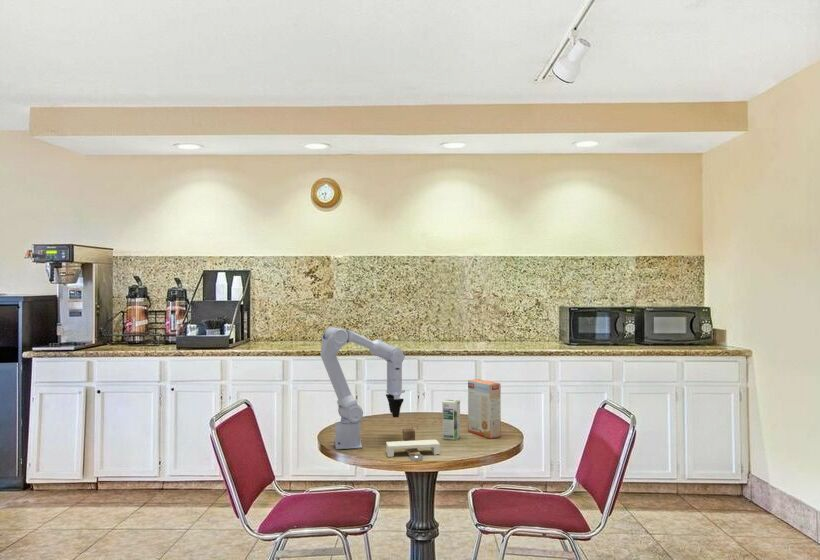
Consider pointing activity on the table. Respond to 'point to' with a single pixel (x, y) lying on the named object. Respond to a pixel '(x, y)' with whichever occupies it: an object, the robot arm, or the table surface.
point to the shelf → (412, 446)
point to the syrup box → (451, 419)
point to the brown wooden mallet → (410, 436)
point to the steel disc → (416, 457)
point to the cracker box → (484, 408)
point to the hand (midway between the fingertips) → (394, 414)
